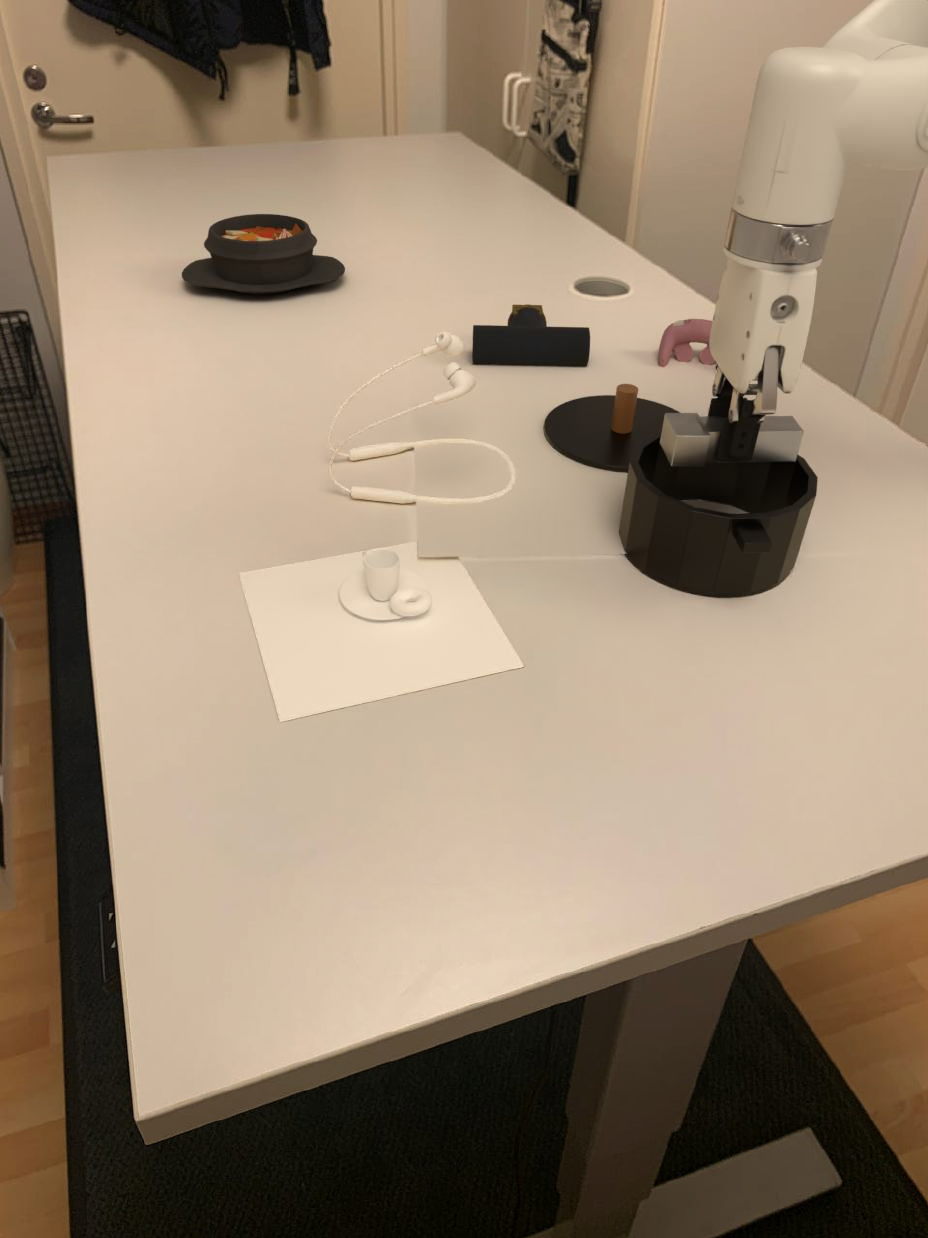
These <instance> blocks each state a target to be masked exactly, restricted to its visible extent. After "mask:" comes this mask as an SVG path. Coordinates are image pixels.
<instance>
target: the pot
mask: <svg viewBox="0 0 928 1238" xmlns="http://www.w3.org/2000/svg"><path fill="white" fill-rule="evenodd" d="M661 433H662V432H657V433H655V434H653V435H651V436H650V437H648V438H647V439H645V440H644V441H642V442H640V443H639V444H637V445H636V447H635V449H634V452H633V454H632V457H631V459H630V462H629V469H628V472H627V476H626V483H625V489H624V495H623V501H622V506H621V507H622V508H621V513H620V521H619V529H618V535H619V538H620V541H621V544H622V546H623V550H624V552H625V553H624V555H625V557H626V558H627V560H628V561H629V562H630V563H631V564H632V565H633V566H634V568H636V569H637V570H639V571H640V572H641V573H642V574H643V575H645V576H647V577H648V578H649V579H651V580H653V581H656V582H657V583H659V584H662V585H664V586H666V587H669V588H671V589H674V590H677V591H680V592H684V593H686V594H687V593H688V594H692V595H696V596H702V597H708V598H709V597H711V598H722V599H723V598H729V599H730V598H731V599H732V598H743V597H750V596H751V597H752V596H755V595H759V594H762V593H765V592H768V591H771V590H773V589H774V588H776V587H778V586H780V585H781V583H783V582H784V581H786V579H787V578H788V577H789V575H790V574H791V573H792V571H793V570H794V569H795V565H796V562H797V559H798V556H799V552H800V549H801V546H802V542H803V539H804V536H805V533H806V530H807V526H808V524H809V520H810V517H811V514H812V511H813V507H814V505H815V501H816V497H817V491H818V481H819V480H818V476H817V474H816V473H815V472H814V470H813V468H812V467H811V465H809V463H808V461H807V460H806V459H805V458H804V457H803V456H801V455H799V454H797V457H796V461H795V462H705V465H704V466H671V465H670V463H669V461H668V459H667V457H666V455H665V452H664V450H663V448H662V446H661V444H660V439H661ZM684 501H705V502H711V503H717V504H721V505H726V506H731V507H733V508H735V509H738V510H741V511H743V512H745V513H740V512H739V513H738V512H737V513H730V512H723V511H718V510H713V509H708V508H703V507H697V506H694V505H692V504H689V503H688V502H684Z"/></svg>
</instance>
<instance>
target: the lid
mask: <svg viewBox="0 0 928 1238" xmlns="http://www.w3.org/2000/svg"><path fill="white" fill-rule="evenodd" d="M638 394H639V387H638V386H636V385H634V384H632V383H621V384H618V385H617V386H616V389H615V395H614V394H613V395H612V394H610V395H609V394H600V395H598V394H597V395H589V396H584V397H578V398H574V399H570V400H568V401H565V402H563V403H561V404H559V405H557V406H556V407H554V408H553V409H551V411H549V412H548V413H547V415H546V417H545V419H544V423H543V433H544V437H545V439H546V441H547V442H548V443H549V444H550V446H552V448H554V449H555V450H556V451H557V452H559V454H561V455H563V456H565V457H566V458H568V459H571V460H572V461H574V462H577V463H580V464H582V465H585V466H588V467H592V468H596V469H600V470H606V471H612V472H621V473H628V469H629V462H630V459H631V457H632V454H633V452H634V449H635V447H636V445H637V444H639V443H640V442H642V441H644V440H645V439H647V438H648V437H650V436H651V435H653V434H655V433H657V432H662V428H663V422H664V416H665V413H681V412H680V411H679V410H676V409H674V408H672V407H670V406H668V405H666V404H663V403H661V402H657V401H653V400H650V399H645V398H640V397H638Z"/></svg>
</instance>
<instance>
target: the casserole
mask: <svg viewBox="0 0 928 1238" xmlns="http://www.w3.org/2000/svg"><path fill="white" fill-rule="evenodd" d="M317 243H318V239H317V237H316V236H315V235H314V234H313V233H312V231H311V227H310V225H309V223H308V222H306V221H305V220H303V219H301V218H297V217H294V216H291V215H290V216H289V215H283V214H275V213H274V214H273V213H254V214H253V213H252V214H242V215H236V216H231V217H229V218H228V217H227V218H224V219H221V220H218V221H216V222H214V223H213V224H212V225H209V228H208V232H207V238H206V239H205V240H204V242H203V248H205V250H206V251H207V252H208V253H209V254H210V255H209V256H210V257H206V258H201V259H197V260H194V261H192V262H190V263H189V264H187V265H186V266H185V267H184V268H183V269H182V272H181V278H182V279H183V281H184V282H185V283H187V284H188V285H191V286H194V287H198V288H207V289H208V288H209V289H221V290H228V291H234V292H238V293H243V294H249V295H275V294H281V293H285V292H290V291H293V290H295V288H296V289H298V288H303V287H308V286H314V285H321V284H327V283H332V282H335V281H337V280H338V279H340V278H342V277H343V276H344V274H345V273H346V267H345V264H343V263H342V261H340V260H339V259H337V258H335V257H333V256H329V255H319V254H314V248H315V247H316V246H317ZM292 289H293V290H292ZM274 293H275V294H274Z"/></svg>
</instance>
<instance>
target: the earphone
mask: <svg viewBox="0 0 928 1238" xmlns="http://www.w3.org/2000/svg"><path fill="white" fill-rule="evenodd" d="M434 343H435V344H431V345H429V346H426V347H424V348H422V349H421V352H419V353H417V354H415V355H412V356H410V357H408V358H407V359H404V360H401V361H400V362H399V363H396V364H393V365H392V366H390V367H388V368H386V369H385V370H383V371H381V372H380V373H378V374H377V375H375V376H373V377H372V378H370V379H369V380H368V381H366V382H365V383H364V384H362V385H360V386H359V387H358V388H357V389H355V391H353V392H352V393H351V394H350V395H349V396H348V397H347V398H346V400H345V401H343V403H342V404H341V405H340V407H339V408H338V410H337V412H336V413H335V415H334V417H333V420H332V422H331V423H330V424H331V425H330V427H329V430H328V433H327V444H328V447H329V449H330V451H332V455H331V457H330V459H329V462H328V467H327V469H328V474H329V477H330V479H331V481H332V482H333V483H334V484H335V485H336V486H337V487H338V488H340V489H341V490H343V491H345V492H347V493H349V495H350V497H351V499H356V500H366V501H375V502H384V503H394V504H403V505H405V504H413V503H419V502H420V503H430V504H431V503H432V504H433V503H434V504H448V505H451V504H452V505H453V504H456V505H457V504H458V505H459V504H473V503H474V504H475V503H480V502H486V501H491V500H494V499H497V498H499V497H501V496H503V495H505V494H507V493H509V492H510V490H511V489H512V488H513V487H514V485H515V483H516V479H517V472H516V468H515V465H514V463H513V461H512V459H511V458H510V457H509V455H507V453H505V452H504V451H503V450H502V449H501V448H499V447H497V446H495V445H494V444H491V443H488V442H485V441H481V440H478V439H470V438H461V437H458V438H456V437H447V438H445V437H444V438H443V437H442V438H431V439H423V440H416V441H409V442H407V441H406V442H405V441H404V442H403V441H391V442H380V443H374V444H369V445H368V444H367V445H363V446H356V447H354V448H349V449H348V450H347V453H344V452H340V450H341V449H342V448H343V447H344V446H345V445H346V444H347V443H349V442H350V441H351V440H353V439H354V438H356V437H357V436H359V435H361V434H362V433H365V432H367V431H368V430H370V429H373V428H375V427H377V426H380V425H382V424H384V423H387V422H389V421H392V420H394V419H396V418H399V417H402V416H404V415H407V414H409V413H412V412H414V411H417V410H420V409H422V408H425V407H427V406H430V405H433V404H434V405H436V406H438V405H441V404H444V403H448V402H451V401H453V400H457V399H459V398H461V397H464V396H466V395H467V394H469V393H470V392H472V391H473V390H474V389H475V387H476V384H477V383H476V382H477V381H476V378H475V377H474V376H473V374H472V373H471V372H469V371H467V370H465V369H462V367H461V365H460V364H459V363H458V362H454V361H452V362H450V363H448V364H447V365H446V366H445V367H444V369H443V376H444V378H445V379H446V380H447V381H449V385H450V387H451V388H452V389H450V390H447V391H445V392H442V393H438V394H436V395H434V396H433V397H432V398H433V399H432V400H430V401H426V402H424V403H421V404H418V405H416V406H412V407H411V408H408V409H405V410H402V411H400V412H397V413H395V414H392V415H390V416H388V417H385V418H383V419H381V420H378V421H376V422H373V423H372V424H369V425H367V426H365V427H363V428H361V429H359V430H357V431H356V432H354V433H353V434H351V435H350V436H348V437H346V438H345V439H344V440H343V441H342V442H341V443H340V444H339V445H338V446H337V447H336V448H334V447H333V445H332V441H331V439H332V433H333V430H334V427H335V424H336V422H337V420H338V417H340V414H341V412H342V411H343V409H344V408H345V407H346V405H347V404H348V403H349V402H350V401H351V399H353V398H354V397H355V396H356V395H357V394H358V393H360V392H361V391H362V390H363V389H365V388H366V387H367V386H368V385H370V384H372V383H373V382H374V381H376V380H378V379H379V378H381V377H382V376H384V375H386V374H387V373H390V372H391V371H393V370H395V369H397V368H399V367H401V366H403V365H404V364H407V363H409V362H412V360H416V359H417V358H419V357H422V356H424V357H428V356H431V355H434V354H436V353H439V352H442V353H443V354H444V355H445V356H446V357H448V358H450V359H458V358H460V357H461V356H462V355H463V353H464V351H465V344H464V342H463V341H462V339H461V338H460V337H459V336H457V335H455V334H452V333H449V332H448V331H440V332H438V334H437V335H436V336H435V339H434ZM453 443H454V444H455V443H457V444H459V443H460V444H470V445H471V444H472V445H478V446H482V447H485V448H488V449H491V450H493V451H494V452H496V453H498V454H499V455H500V456H501V457H502V458H503V459H504V461H505V462H506V465H507V467H508V471H509V481H508V483H507V484H506V485H505V487H503V488H502V489H500V490H499V491H496V492H493V493H490V494H487V495H482V496H475V497H439V496H428V495H419V494H414V493H412V492H408V491H405V490H398V489H388V488H380V487H373V486H363V485H352V486H351V488H350V489H349V488H347V487H346V486H344V485H342V484H340V483H339V481H337V480H336V478H335V477H334V475H333V471H332V466H333V462H334V460H335V458H336V456H337V455H338V456H340V457H346V458H348V459H349V461H351V462H354V461H359V460H360V461H361V460H366V459H371V458H377V457H378V458H379V457H384V456H390V455H396V454H399V453H402V452H404V451H406V450H409V449H415V448H416V447H422V446H423V447H424V446H428V445H429V446H430V445H438V444H453Z"/></svg>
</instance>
